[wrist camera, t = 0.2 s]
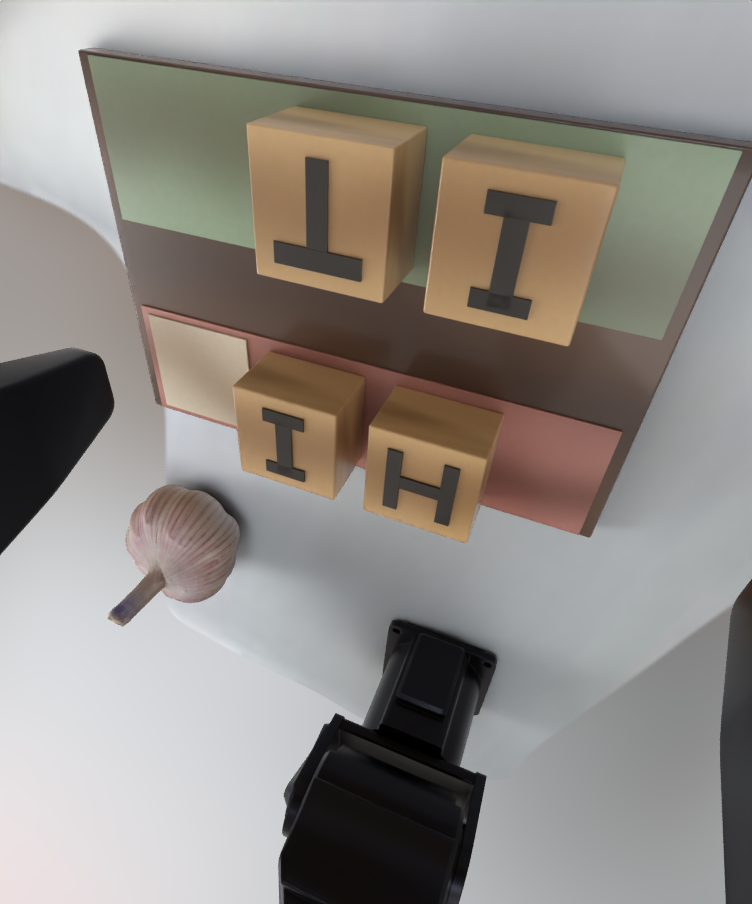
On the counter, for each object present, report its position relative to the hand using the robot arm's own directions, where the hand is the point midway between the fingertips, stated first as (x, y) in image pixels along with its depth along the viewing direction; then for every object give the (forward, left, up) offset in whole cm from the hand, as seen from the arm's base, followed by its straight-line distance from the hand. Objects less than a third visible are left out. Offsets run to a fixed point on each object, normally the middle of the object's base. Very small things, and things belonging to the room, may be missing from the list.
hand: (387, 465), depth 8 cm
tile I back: (-10, +8, -14) cm, 19 cm away
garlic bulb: (-22, +16, -15) cm, 31 cm away
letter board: (-6, +6, -15) cm, 17 cm away
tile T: (-1, +6, -14) cm, 15 cm away
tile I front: (-1, 0, -14) cm, 14 cm away
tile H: (-10, +2, -14) cm, 17 cm away
